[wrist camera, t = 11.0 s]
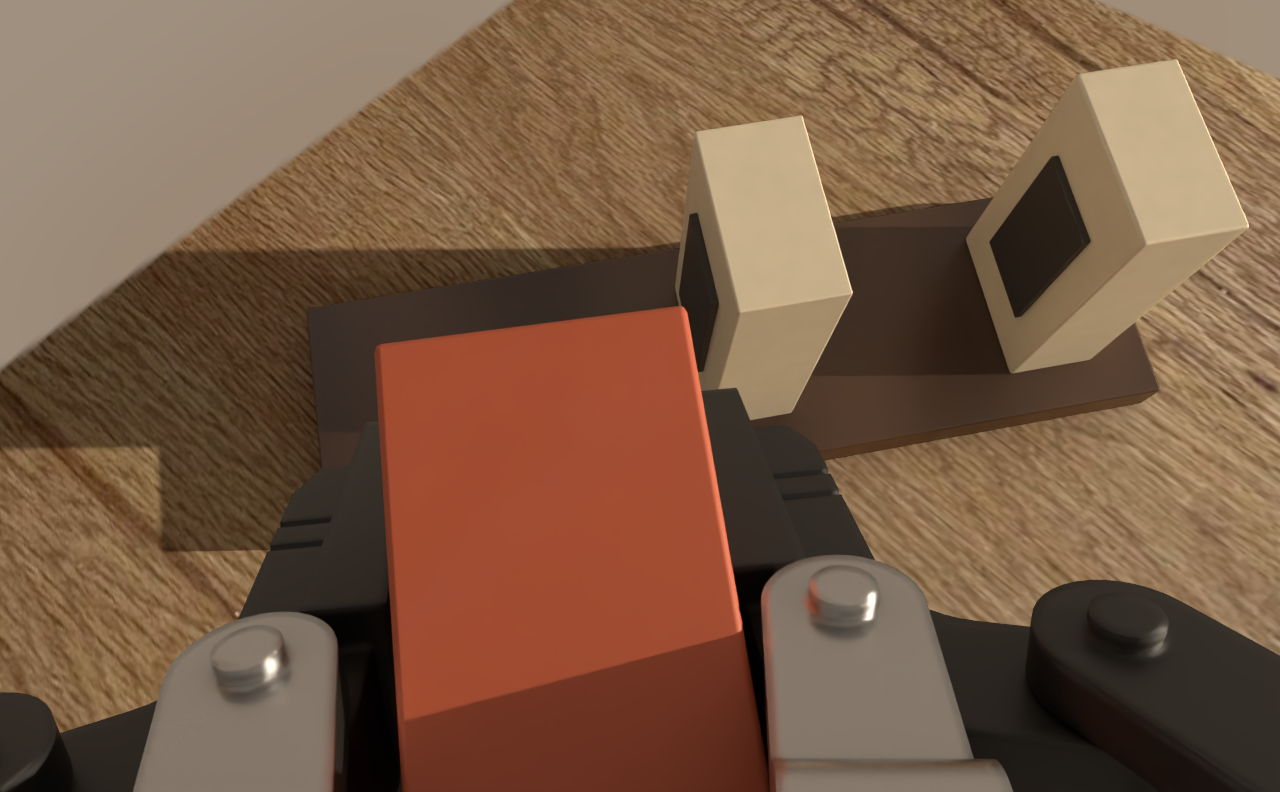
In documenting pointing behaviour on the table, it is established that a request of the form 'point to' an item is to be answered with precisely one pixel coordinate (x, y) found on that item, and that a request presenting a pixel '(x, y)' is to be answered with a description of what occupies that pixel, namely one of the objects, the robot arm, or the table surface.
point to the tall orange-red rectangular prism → (561, 564)
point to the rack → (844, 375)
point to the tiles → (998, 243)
